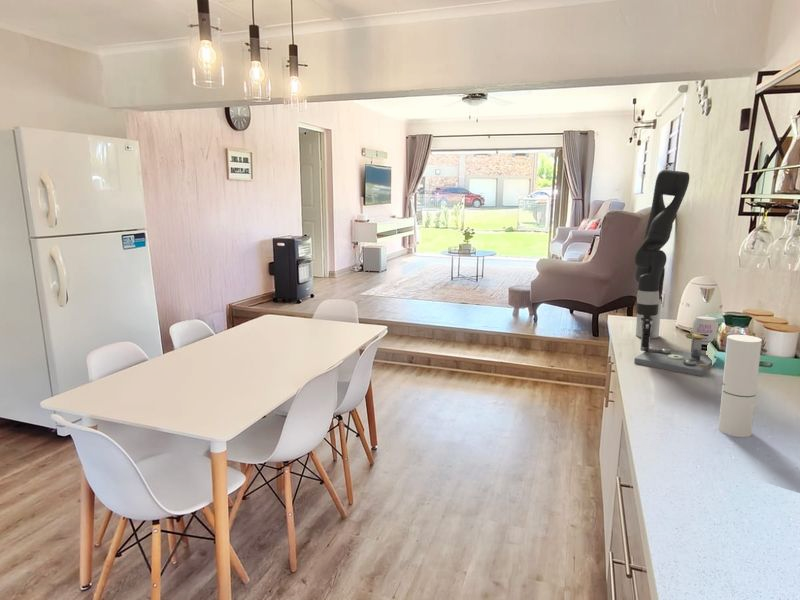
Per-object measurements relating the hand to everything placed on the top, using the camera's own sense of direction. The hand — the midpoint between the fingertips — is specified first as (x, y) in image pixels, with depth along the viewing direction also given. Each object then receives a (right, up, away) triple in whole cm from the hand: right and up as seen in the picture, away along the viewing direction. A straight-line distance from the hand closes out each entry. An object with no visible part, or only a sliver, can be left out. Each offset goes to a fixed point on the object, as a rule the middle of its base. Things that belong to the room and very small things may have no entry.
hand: (644, 345), depth 191 cm
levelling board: (+7, -6, -8) cm, 12 cm away
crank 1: (+3, -2, -1) cm, 4 cm away
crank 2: (+10, -5, -14) cm, 18 cm away
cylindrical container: (-8, -17, -63) cm, 65 cm away
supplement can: (+22, -4, -1) cm, 23 cm away
